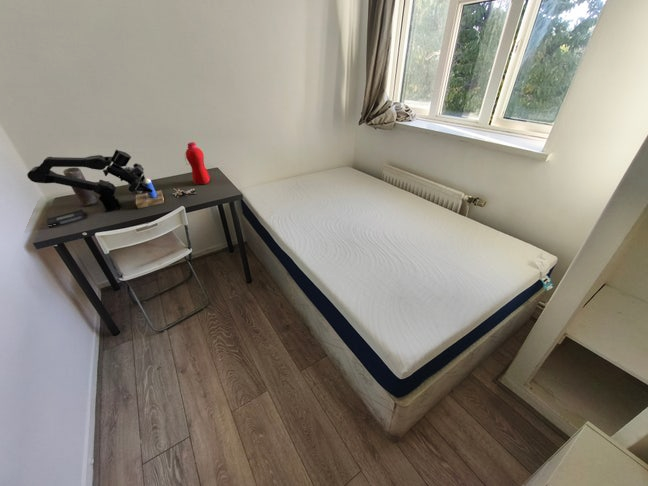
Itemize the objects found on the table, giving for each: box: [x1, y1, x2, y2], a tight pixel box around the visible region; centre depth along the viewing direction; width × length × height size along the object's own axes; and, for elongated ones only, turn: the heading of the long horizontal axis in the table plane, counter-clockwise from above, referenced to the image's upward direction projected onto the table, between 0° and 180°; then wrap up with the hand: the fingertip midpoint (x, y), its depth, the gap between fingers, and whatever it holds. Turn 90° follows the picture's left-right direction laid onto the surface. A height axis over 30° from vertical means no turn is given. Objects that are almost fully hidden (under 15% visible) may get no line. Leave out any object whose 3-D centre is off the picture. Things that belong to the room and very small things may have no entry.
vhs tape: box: [46, 209, 85, 229], centre depth 139 cm, size 8×14×2 cm, turn 130°
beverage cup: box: [123, 164, 143, 195], centre depth 160 cm, size 7×7×20 cm
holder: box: [135, 189, 165, 209], centre depth 155 cm, size 13×12×3 cm
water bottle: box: [184, 141, 211, 186], centre depth 169 cm, size 9×11×25 cm
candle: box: [62, 167, 98, 207], centre depth 148 cm, size 8×7×20 cm
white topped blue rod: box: [143, 177, 157, 198], centre depth 152 cm, size 4×4×14 cm
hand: (152, 189), depth 152 cm, fingers open, 5 cm apart
